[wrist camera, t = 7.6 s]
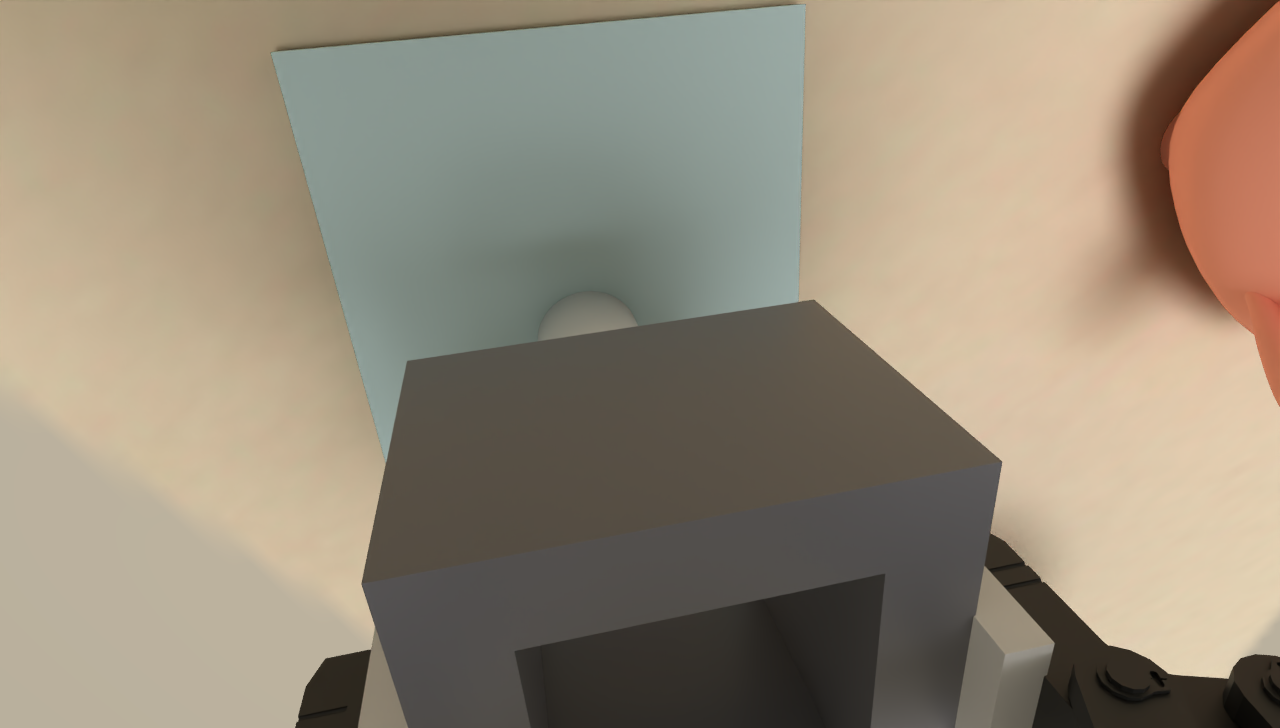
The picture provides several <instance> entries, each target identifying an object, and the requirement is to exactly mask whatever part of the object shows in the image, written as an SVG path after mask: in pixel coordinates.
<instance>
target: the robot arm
mask: <svg viewBox="0 0 1280 728" xmlns="http://www.w3.org/2000/svg"><path fill="white" fill-rule="evenodd" d="M298 717H299V721H298V722H297V723H296V727H295V728H408V726H407V723H406V720H405V717H404V714H403V711H402V708H401V704H400V701H399V698H398V695H397V692H396V689H395V686H394V683H393V680H392V677H391V674H390V670H389V667H388V664H387V661H386V658H385V655H384V652H383V649H382V646H381V643H380V640H379V636H378V633H377V630H376V627H375V631H374V636H373V642H372V648H371V650H366V651H361V652H356V653H351V654H346V655H341V656H336V657H331V658H326V659H325V660H324V662H323V663H322V664H321V666H320V667H319V669H318V670H317V671H316V673H315V675H314V676H313V677H312V679H311V680H310V682H309V683H308V684H307V686H306V689H305V692H304V696H303V700H302V704H301V707H300V711H299V715H298ZM955 728H1280V657H1278V656H1270V655H1257V654H1255V655H1251V656H1247V657H1244V658H1241V659H1240V660H1239V661H1238V662H1237V663H1236V665H1235V666H1234V667H1233V669H1232V671H1231V674H1230V676H1229V679H1224V678H1209V677H1195V676H1180V675H1172V674H1168V673H1167V672H1165V671H1164V670H1163V669H1162V668H1160V667H1159V666H1158V665H1156V664H1155V663H1154V662H1152V661H1151V660H1150V659H1148V658H1146V657H1143V656H1141V655H1139V654H1137V653H1135V652H1133V651H1131V650H1127V649H1122V648H1118V647H1114V646H1108V645H1107V644H1105V643H1104V642H1103V641H1102V640H1101V639H1100V638H1099V637H1098V636H1097V635H1096V634H1095V633H1094V632H1093V631H1092V630H1091V629H1090V628H1089V627H1088V626H1087V625H1086V624H1085V623H1084V622H1083V621H1082V620H1081V619H1080V618H1079V617H1078V616H1077V614H1076V613H1075V612H1074V611H1073V610H1072V609H1071V608H1070V607H1069V606H1068V605H1067V604H1066V603H1065V602H1064V601H1063V600H1062V599H1061V598H1060V597H1059V596H1058V595H1057V594H1056V593H1055V592H1054V591H1053V590H1052V589H1051V588H1050V587H1049V586H1048V585H1047V584H1046V583H1045V582H1043V583H1042V582H1041V578H1040V577H1039V576H1038V575H1037V574H1036V573H1035V572H1034V571H1033V570H1032V569H1031V568H1030V567H1029V566H1026V565H1025V563H1024V561H1023V560H1022V559H1021V558H1020V557H1019V556H1018V555H1017V554H1016V553H1015V552H1014V551H1013V550H1012V549H1011V548H1010V547H1009V545H1008V544H1007V543H1006V542H1005V541H1003V540H1001V539H999V538H998V537H996V536H994V535H992V534H991V533H990V536H989V541H988V547H987V553H986V559H985V565H984V570H983V576H982V582H981V588H980V594H979V599H978V605H977V611H976V615H975V616H974V617H973V623H972V629H971V635H970V641H969V647H968V653H967V659H966V664H965V670H964V676H963V682H962V688H961V694H960V700H959V706H958V711H957V717H956V723H955Z"/></svg>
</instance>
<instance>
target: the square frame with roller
mask: <svg viewBox="0 0 1280 728" xmlns="http://www.w3.org/2000/svg"><path fill="white" fill-rule="evenodd" d="M1001 466H1002V461H1001V460H1000V459H999V458H997V457H996V456H995V455H994V454H993V453H992V452H990V451H989V450H988V449H987V448H986V447H985V446H983V445H982V444H981V443H980V442H979V441H978V440H976V439H975V438H974V437H973V436H972V435H971V434H969V433H968V432H967V431H966V430H965V429H964V428H962V427H961V426H960V425H959V424H958V423H957V422H956V421H954V420H953V419H952V418H951V417H950V416H949V415H947V414H946V413H945V412H944V411H943V410H942V409H940V408H939V407H938V406H937V405H936V404H935V403H933V402H932V401H931V400H930V399H929V398H928V397H926V396H925V395H924V394H923V393H922V392H921V391H919V390H918V389H917V388H916V387H915V386H914V385H912V384H911V383H910V382H909V381H908V380H907V379H906V378H904V377H903V376H902V375H901V374H900V373H899V372H897V371H896V370H895V369H894V368H893V367H892V366H890V365H889V364H888V363H887V362H886V361H885V360H883V359H882V358H881V357H880V356H879V355H878V354H876V353H875V352H874V351H873V350H872V349H871V348H869V347H868V346H867V345H866V344H865V343H864V342H862V341H861V340H860V339H859V338H858V337H857V336H855V335H854V334H853V333H852V332H851V331H850V330H849V329H847V328H846V327H845V326H844V325H843V324H842V323H840V322H839V321H838V320H837V319H836V318H835V317H833V316H832V315H831V314H830V313H829V312H828V311H826V310H825V309H824V308H823V307H822V306H821V305H819V304H818V303H817V302H816V301H815V300H809V301H802V302H795V303H789V304H782V305H776V306H769V307H762V308H756V309H749V310H742V311H736V312H729V313H722V314H716V315H709V316H702V317H696V318H689V319H682V320H676V321H669V322H662V323H656V324H649V325H642V326H636V327H629V328H623V329H616V330H609V331H603V332H596V333H589V334H583V335H576V336H569V337H563V338H556V339H549V340H543V341H536V342H529V343H523V344H516V345H509V346H503V347H496V348H489V349H483V350H476V351H470V352H463V353H456V354H450V355H443V356H436V357H430V358H423V359H416V360H410V361H407V363H406V368H405V373H404V378H403V383H402V388H401V393H400V398H399V402H398V407H397V412H396V417H395V422H394V427H393V432H392V437H391V442H390V447H389V451H388V456H387V461H386V466H385V471H384V476H383V481H382V486H381V491H380V495H379V500H378V505H377V510H376V515H375V520H374V525H373V530H372V535H371V540H370V544H369V549H368V554H367V559H366V564H365V569H364V574H363V579H362V587H363V590H364V593H365V596H366V599H367V603H368V606H369V609H370V612H371V615H372V618H373V621H374V624H375V627H376V630H377V633H378V636H379V640H380V643H381V646H382V649H383V652H384V655H385V658H386V661H387V664H388V667H389V670H390V674H391V677H392V680H393V683H394V686H395V689H396V692H397V695H398V698H399V701H400V704H401V708H402V711H403V714H404V717H405V720H406V723H407V726H408V728H955V723H956V717H957V711H958V706H959V700H960V694H961V688H962V682H963V676H964V670H965V664H966V659H967V653H968V647H969V641H970V635H971V629H972V623H973V617H974V616H975V615H976V611H977V605H978V599H979V594H980V588H981V582H982V576H983V570H984V565H985V559H986V553H987V547H988V541H989V536H990V530H991V524H992V518H993V512H994V507H995V501H996V495H997V489H998V483H999V478H1000V472H1001Z"/></svg>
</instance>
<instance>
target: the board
mask: <svg viewBox="0 0 1280 728" xmlns="http://www.w3.org/2000/svg"><path fill="white" fill-rule="evenodd" d="M805 7H806V4H793V5H782V6H771V7H760V8H749V9H738V10H727V11H716V12H705V13H693V14H682V15H671V16H660V17H649V18H638V19H627V20H616V21H605V22H594V23H583V24H572V25H561V26H550V27H539V28H528V29H516V30H505V31H494V32H483V33H472V34H461V35H450V36H439V37H428V38H417V39H406V40H395V41H384V42H373V43H362V44H351V45H339V46H328V47H317V48H306V49H295V50H284V51H275V52H271V56H272V59H273V63H274V67H275V70H276V74H277V77H278V81H279V84H280V88H281V92H282V95H283V99H284V102H285V106H286V109H287V113H288V116H289V120H290V124H291V127H292V131H293V134H294V138H295V141H296V145H297V149H298V152H299V156H300V159H301V163H302V166H303V170H304V173H305V177H306V181H307V184H308V188H309V191H310V195H311V198H312V202H313V206H314V209H315V213H316V216H317V220H318V223H319V227H320V230H321V234H322V238H323V241H324V245H325V248H326V252H327V255H328V259H329V263H330V266H331V270H332V273H333V277H334V280H335V284H336V287H337V291H338V295H339V298H340V302H341V305H342V309H343V312H344V316H345V320H346V323H347V327H348V330H349V334H350V337H351V341H352V344H353V348H354V352H355V355H356V359H357V362H358V366H359V369H360V373H361V377H362V380H363V384H364V387H365V391H366V394H367V398H368V401H369V405H370V409H371V412H372V416H373V419H374V423H375V426H376V430H377V434H378V437H379V441H380V444H381V448H382V451H383V455H384V458H385V462H386V461H387V456H388V451H389V447H390V442H391V437H392V432H393V427H394V422H395V417H396V412H397V407H398V402H399V398H400V393H401V388H402V383H403V378H404V373H405V368H406V363H407V361H410V360H416V359H423V358H430V357H436V356H443V355H450V354H456V353H463V352H470V351H476V350H483V349H489V348H496V347H503V346H509V345H516V344H523V343H529V342H536V341H543V340H549V339H556V338H563V337H569V336H576V335H583V334H589V333H596V332H603V331H609V330H616V329H623V328H629V327H636V326H642V325H649V324H656V323H662V322H669V321H676V320H682V319H689V318H696V317H702V316H709V315H716V314H722V313H729V312H736V311H742V310H749V309H756V308H762V307H769V306H776V305H782V304H789V303H795V302H799V260H800V218H801V176H802V133H803V91H804V49H805Z"/></svg>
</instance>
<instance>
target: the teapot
mask: <svg viewBox="0 0 1280 728" xmlns="http://www.w3.org/2000/svg"><path fill="white" fill-rule="evenodd" d="M1160 155H1161V160H1162V162H1163V165H1164V166H1165V167H1166V169H1168V170H1169V176H1170V186H1171V191H1172V196H1173V201H1174V206H1175V210H1176V214H1177V218H1178V221H1179V225H1180V228H1181V231H1182V234H1183V237H1184V239H1185V242H1186V245H1187V247H1188V249H1189V251H1190V253H1191V255H1192V257H1193V259H1194V261H1195V263H1196V265H1197V267H1198V269H1199V271H1200V273H1201V274H1202V276H1203V278H1204V279H1205V281H1206V282H1207V284H1208V285H1209V287H1210V288H1211V290H1212V291H1213V292H1214V294H1215V295H1216V297H1217V298H1218V300H1219V301H1220V303H1221V304H1222V305H1223V307H1224V308H1225V309H1226V310H1227V311H1228V312H1229V313H1230V314H1231V315H1232V316H1233V317H1234V318H1235V319H1236V320H1237V321H1238V322H1239V323H1240V324H1242V325H1243V326H1244V327H1245V328H1246V329H1248V330H1249V331H1250V332H1251V333H1253V334H1254V335H1255V339H1256V344H1257V348H1258V351H1259V354H1260V358H1261V361H1262V364H1263V368H1264V371H1265V374H1266V377H1267V380H1268V382H1269V385H1270V387H1271V390H1272V392H1273V395H1274V397H1275V399H1276V401H1277V403H1278V405H1279V406H1280V0H1279V1H1278V2H1277V3H1276V4H1275V5H1274V6H1273V7H1272V8H1271V9H1269V10H1268V11H1267V12H1266V13H1265V14H1264V15H1263V16H1262V17H1261V18H1260V19H1259V20H1258V21H1257V22H1256V23H1255V24H1254V25H1253V26H1252V27H1251V28H1250V29H1249V30H1248V31H1247V32H1246V33H1245V34H1244V35H1243V36H1242V37H1241V38H1240V39H1239V40H1238V41H1237V42H1236V43H1235V44H1234V45H1233V46H1232V47H1231V48H1230V50H1229V51H1228V52H1227V53H1226V54H1225V55H1224V56H1223V57H1222V58H1221V59H1220V60H1219V61H1218V62H1217V63H1216V64H1215V65H1214V67H1213V68H1212V69H1211V70H1210V71H1209V73H1208V74H1207V75H1206V76H1205V77H1204V78H1203V80H1202V81H1201V82H1200V83H1199V84H1198V86H1197V87H1196V88H1195V89H1194V91H1193V92H1192V94H1191V95H1190V97H1189V98H1188V100H1187V101H1186V103H1185V105H1184V106H1183V108H1182V110H1181V112H1179V113H1178V114H1177V115H1176V116H1175V117H1174V118H1173V120H1172V121H1171V123H1170V124H1169V125H1168V127H1167V129H1166V131H1165V133H1164V136H1163V138H1162V142H1161V147H1160Z"/></svg>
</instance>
